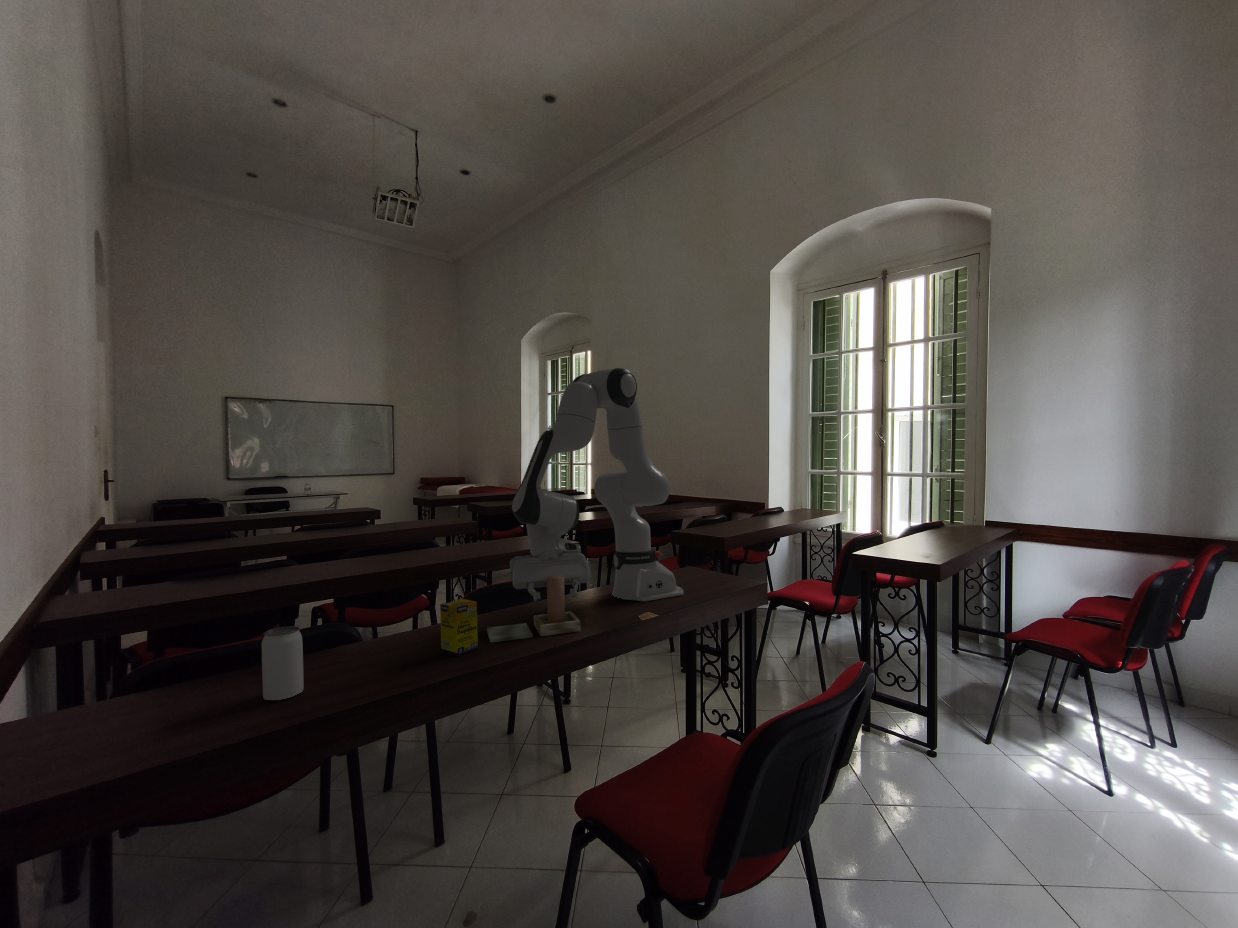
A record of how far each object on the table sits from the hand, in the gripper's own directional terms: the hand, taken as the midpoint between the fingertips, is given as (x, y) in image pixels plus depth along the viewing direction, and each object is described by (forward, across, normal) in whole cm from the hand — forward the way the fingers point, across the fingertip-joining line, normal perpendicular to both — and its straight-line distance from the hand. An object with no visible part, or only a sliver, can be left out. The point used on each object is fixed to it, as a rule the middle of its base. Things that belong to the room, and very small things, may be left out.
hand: (556, 598), depth 139 cm
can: (+20, -56, -9) cm, 60 cm away
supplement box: (+11, -24, 0) cm, 26 cm away
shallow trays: (+5, -6, +6) cm, 10 cm away
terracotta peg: (+5, 0, +6) cm, 8 cm away
